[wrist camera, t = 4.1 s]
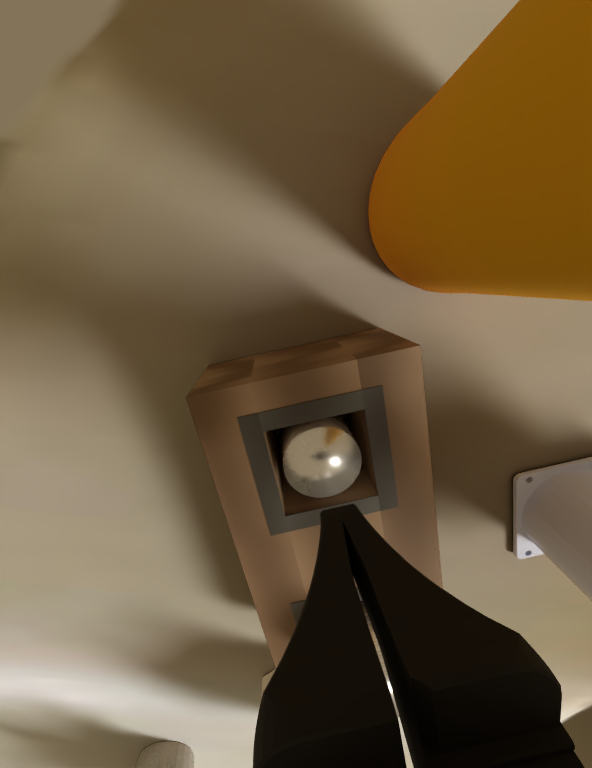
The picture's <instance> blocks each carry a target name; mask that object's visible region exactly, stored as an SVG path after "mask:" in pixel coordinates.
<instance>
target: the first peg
mask: <svg viewBox="0 0 592 768" xmlns="http://www.w3.org/2000/svg"><path fill="white" fill-rule="evenodd" d="M280 430H281V443H282V456H283V468H284V473H285V476H286V479H287V481H288V482H289V483H290V485H291V486H292V487H293V488H294V489H295V490H297V491H298V492H300V493H301V494H304V495H306V496H310V497H315V498H324V497H330V496H334V495H336V494H339V493H341V492H343V491H344V490H346V489H347V488H348V487H349V486H350V485H351V484H352V483H353V482H354V481H355V479H356V478H357V476H358V474H359V472H360V469H361V464H362V457H361V452H360V449H359V447H358V445H357V443H356V441H355V439H354V437H353V435H352V434H351V432H350V430H349V428H348V426H347V424H346V422H345V421H344V419H343V417H342V415H337V416H333V417H328V418H324V419H319V420H315V421H310V422H306V423H301V424H297V425H292V426H288V427H283V428H280Z"/></svg>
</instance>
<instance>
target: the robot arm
mask: <svg viewBox="0 0 592 768" xmlns="http://www.w3.org/2000/svg"><path fill="white" fill-rule="evenodd" d="M528 477H529V478H528ZM527 478H528V479H527ZM526 479H527V480H526ZM320 521H321V527H320V539H319V546H318V553H317V559H316V563H315V568H314V572H313V577H312V581H311V584H310V588H309V591H308V595H307V598H306V601H305V604H304V607H303V609H302V612H301V615H300V618H299V620H298V623H297V625H296V628H295V630H294V633H293V635H292V637H291V639H290V641H289V644H288V646H287V648H286V650H285V652H284V654H283V657H282V659H281V661H280V663H279V664H278V666H277V668H276V670H275V672H274V674H273V675H272V677H271V679H270V681H269V683H268V685H267V686H266V688H265V690H264V692H263V696H262V700H261V704H260V709H259V714H258V719H257V725H256V732H255V740H254V754H253V768H406V762H405V756H404V751H403V745H402V739H401V733H400V728H399V722H398V718H397V714H396V710H395V707H394V703H393V700H392V697H391V693H390V690H389V687H388V684H387V681H386V678H385V675H384V672H383V669H382V666H381V663H380V660H379V657H378V654H377V651H376V648H375V645H374V642H373V639H372V636H371V633H370V630H369V627H368V624H367V620H366V617H365V614H364V611H363V608H362V604H361V601H360V598H359V595H358V592H357V588H356V585H357V587H358V590H359V593H360V596H361V598H362V601H363V604H364V606H365V609H366V612H367V614H368V617H369V620H370V622H371V625H372V628H373V630H374V633H375V636H376V638H377V641H378V644H379V647H380V650H381V653H382V657H383V660H384V664H385V667H386V671H387V674H388V678H389V681H390V685H391V688H392V692H393V695H394V699H395V702H396V706H397V709H398V713H399V716H400V720H401V723H402V727H403V730H404V734H405V738H406V741H407V745H408V748H409V752H410V756H411V759H412V763H413V766H414V768H584V766H583V765H582V763H581V761H580V760H579V759H578V757H577V755H576V754H575V752H574V751H573V750H574V749H575V746H574V743H573V741H572V739H571V737H570V736H569V734H568V733H567V731H566V730H565V728H564V727H563V725H562V724H561V722H560V715H561V700H562V692H561V685H560V684H559V682H558V680H557V679H556V677H555V676H554V674H553V673H552V671H551V670H550V668H549V667H548V666H547V665H546V663H545V662H544V661H543V660H542V658H541V657H540V656H539V655H538V654H537V653H536V651H535V650H534V649H533V648H532V647H531V646H530V645H529V644H528V642H527V641H526V640H525V639H524V638H523V637H522V636H521V635H520V634H519V633H517V632H515V631H513V630H511V629H509V628H508V627H506V626H504V625H502V624H500V623H498V622H496V621H494V620H492V619H490V618H488V617H486V616H484V615H483V614H481V613H479V612H478V611H476V610H474V609H473V608H471V607H469V606H468V605H466V604H464V603H463V602H461V601H460V600H458V599H457V598H455V597H454V596H452V595H451V594H449V593H448V592H446V591H445V590H443V589H442V588H440V587H439V586H438V585H436V584H435V583H434V582H432V581H431V580H430V579H428V578H427V577H426V576H424V575H423V574H422V573H421V572H419V571H418V570H417V569H416V568H414V567H413V566H412V565H411V564H410V563H409V562H407V561H406V560H405V559H404V558H403V557H402V556H401V555H400V554H399V553H398V552H396V551H395V550H394V549H393V548H392V547H391V546H390V545H389V544H388V543H387V542H386V541H385V540H384V538H383V537H382V536H381V535H380V534H379V533H378V532H377V531H376V530H375V529H374V528H373V527H372V525H371V524H370V523H369V522H368V521H367V519H366V518H365V517H364V516H363V514H362V513H361V511H360V510H359V509H358V507H357V506H356V505H355V504H349V505H345V506H340V507H336V508H332V509H327V510H323V511H322V512H321V513H320ZM513 553H514V555H515V556H516V557H517V558H518V559H524V558H528V557H533V556H537V555H541V554H545V555H546V556H547V557H548V558H549V559H550V560H551V561H552V562H553V563H554V564H555V565H556V566H557V567H558V568H559V569H560V570H561V571H562V572H563V573H564V574H565V575H566V576H567V577H568V578H569V579H570V580H571V581H572V582H573V583H574V584H575V585H576V586H577V587H578V588H579V589H580V590H581V591H582V592H583V593H584V594H585V595H586V596H587V597H588V598H589V599H590V600H591V601H592V457H588V458H584V459H580V460H575V461H571V462H566V463H562V464H558V465H553V466H549V467H544V468H540V469H536V470H531V471H527V472H523V473H519V474H517V475H515V477H514V479H513ZM354 579H355V582H356V585H355V582H354Z"/></svg>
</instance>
